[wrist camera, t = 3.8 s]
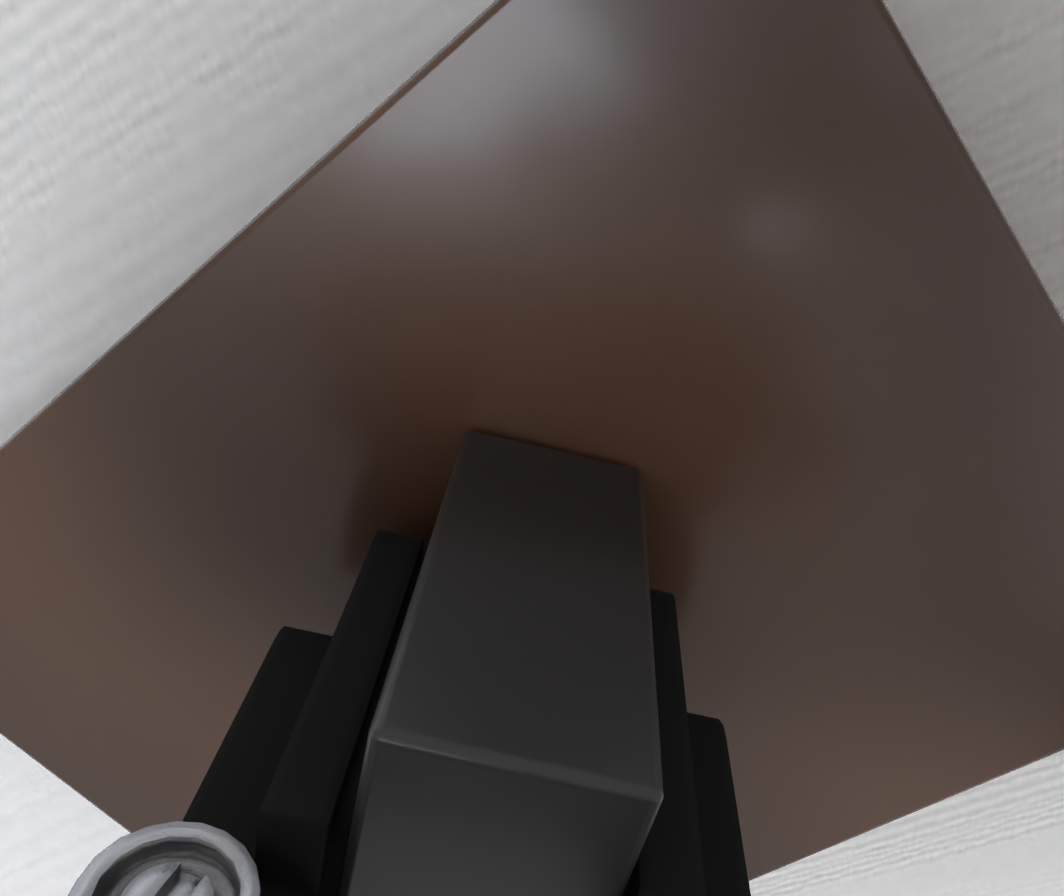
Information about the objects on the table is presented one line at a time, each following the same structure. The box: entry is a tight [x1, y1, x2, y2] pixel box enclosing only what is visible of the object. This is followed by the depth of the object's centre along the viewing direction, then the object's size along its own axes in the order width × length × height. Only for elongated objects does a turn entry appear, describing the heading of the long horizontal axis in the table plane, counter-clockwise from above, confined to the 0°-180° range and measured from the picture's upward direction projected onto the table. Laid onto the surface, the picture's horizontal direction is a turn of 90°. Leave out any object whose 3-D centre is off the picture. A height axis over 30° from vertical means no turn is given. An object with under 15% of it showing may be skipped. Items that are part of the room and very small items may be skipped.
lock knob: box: [338, 431, 664, 896], centre depth 9 cm, size 6×2×5 cm, turn 167°
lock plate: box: [0, 0, 1064, 881], centre depth 12 cm, size 14×11×2 cm
